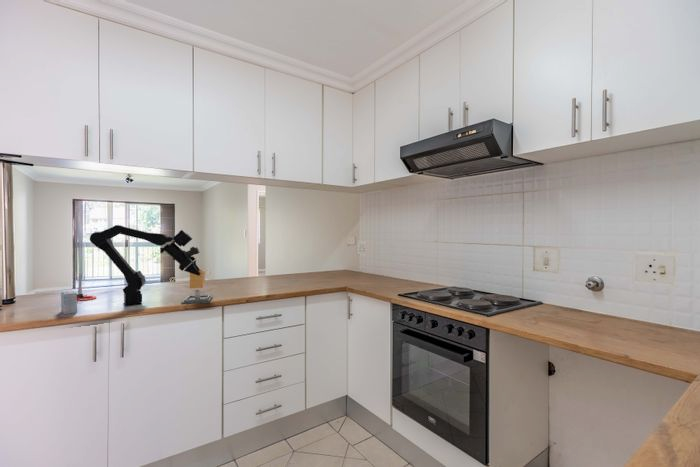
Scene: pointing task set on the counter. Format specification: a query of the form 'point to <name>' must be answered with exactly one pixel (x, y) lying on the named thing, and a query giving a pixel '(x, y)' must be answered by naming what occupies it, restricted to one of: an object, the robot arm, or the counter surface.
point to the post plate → (197, 298)
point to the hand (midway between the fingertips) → (200, 274)
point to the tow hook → (80, 295)
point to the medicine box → (69, 302)
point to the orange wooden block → (197, 280)
